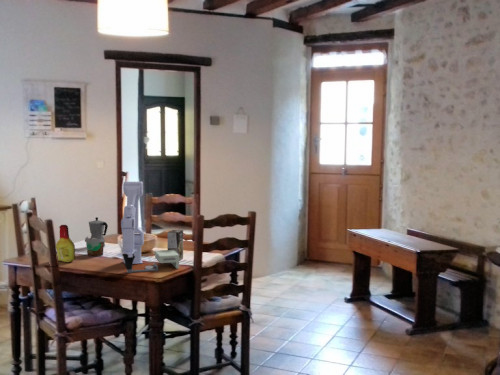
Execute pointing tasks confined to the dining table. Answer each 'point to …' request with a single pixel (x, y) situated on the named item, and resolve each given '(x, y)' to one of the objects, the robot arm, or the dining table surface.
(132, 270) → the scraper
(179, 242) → the coffee box
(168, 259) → the low cabinet
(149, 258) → the dining table surface
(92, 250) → the food container
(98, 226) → the coffeepot
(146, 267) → the steel token
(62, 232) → the bottle
